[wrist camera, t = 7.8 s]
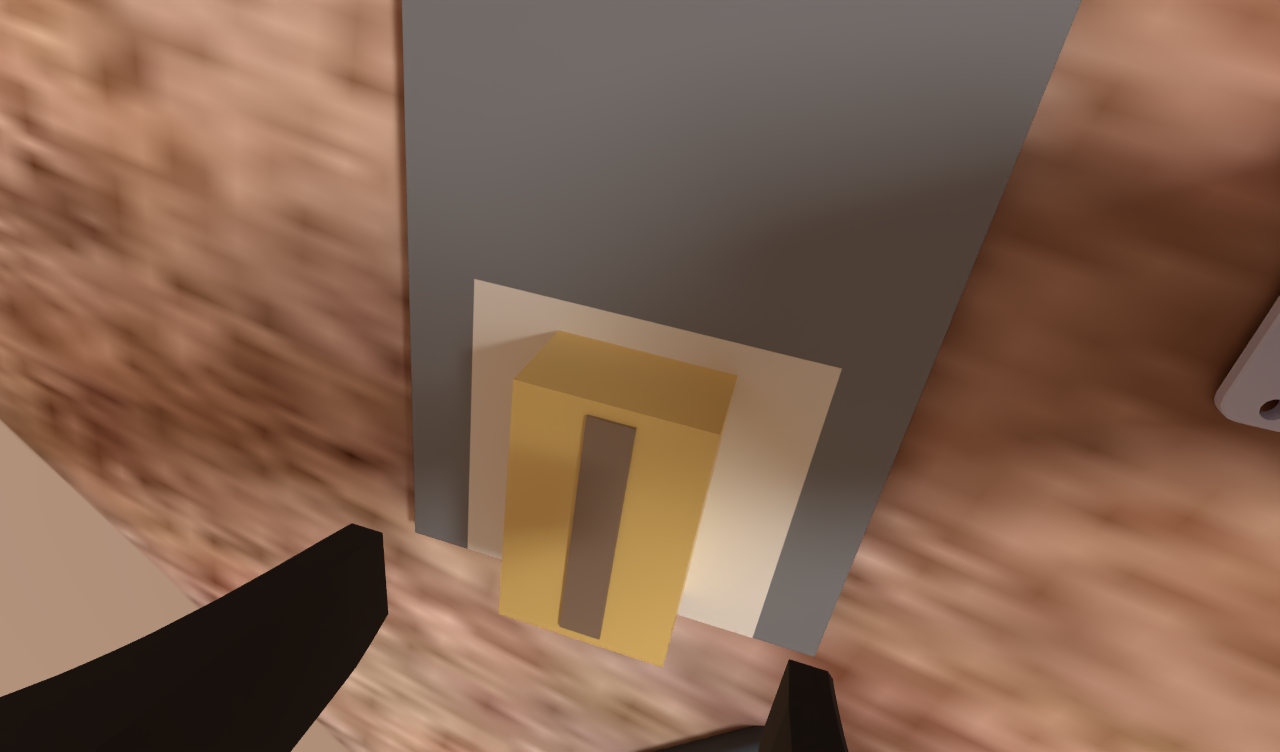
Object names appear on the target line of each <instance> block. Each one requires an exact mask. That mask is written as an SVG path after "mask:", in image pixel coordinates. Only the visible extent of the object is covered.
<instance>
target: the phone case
mask: <svg viewBox="0 0 1280 752" xmlns="http://www.w3.org/2000/svg"><path fill="white" fill-rule="evenodd" d="M764 727H765V726H753V727H748V728H744V729H740V730H736V731H732V732H728V733H725V734H721V735H717V736H713V737H709V738H705V739H701V740H697V741H693V742H689V743H686V744H682V745H678V746H674V747H670V748H666V749H662V750H658V751H654V752H758V751H759V745H760V738H761V735H762V732H763V730H764Z"/></svg>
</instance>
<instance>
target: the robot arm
mask: <svg viewBox="0 0 1280 752" xmlns="http://www.w3.org/2000/svg"><path fill="white" fill-rule="evenodd" d="M1274 399H1279V402H1278V405H1276V406H1275V407H1274V408H1273V409H1271V410H1268V411H1260V408H1261V406H1262V405H1263V404H1265V403H1266V402H1268V401H1271V400H1274ZM1214 401H1215V406H1216V407H1217V408H1218V410H1219V411H1220V412H1221V413H1222V414H1223V415H1224V416H1225V417H1226V418H1227V419H1230V420H1232V421H1234V422H1238V423H1242V424H1246V425H1251V426H1255V427H1259V428H1263V429H1268V430H1272V431H1276V432H1280V296H1279V297H1278V299H1277V300H1276V302H1275V303H1274V305H1273V306H1272V308H1271V309H1270V311H1269V313H1268V314H1267V316H1266V317H1265V319H1264V320H1263V322H1262V323H1261V325H1260V326H1259V328H1258V329H1257V331H1256V332H1255V334H1254V335H1253V337H1252V338H1251V340H1250V341H1249V343H1248V345H1247V346H1246V348H1245V349H1244V351H1243V352H1242V354H1241V355H1240V357H1239V358H1238V360H1237V361H1236V363H1235V364H1234V366H1233V367H1232V369H1231V370H1230V372H1229V373H1228V375H1227V377H1226V378H1225V380H1224V381H1223V383H1222V384H1221V386H1220V387H1219V389H1218V390H1217V392H1216V395H1215V398H1214ZM387 615H388V604H387V590H386V576H385V562H384V548H383V534H382V533H381V532H378V531H375V530H372V529H368V528H365V527H362V526H359V525H355V524H350V525H348V526H346V527H344V528H343V529H341V530H339V531H337V532H336V533H334V534H332V535H330V536H329V537H327V538H325V539H323V540H322V541H320V542H318V543H316V544H315V545H313V546H311V547H309V548H308V549H306V550H304V551H302V552H301V553H299V554H297V555H295V556H294V557H292V558H290V559H289V560H287V561H285V562H283V563H282V564H280V565H278V566H276V567H275V568H273V569H271V570H269V571H268V572H266V573H264V574H262V575H260V576H259V577H257V578H255V579H253V580H251V581H250V582H248V583H246V584H244V585H242V586H241V587H239V588H237V589H235V590H233V591H232V592H230V593H228V594H226V595H224V596H223V597H221V598H219V599H217V600H215V601H213V602H211V603H210V604H208V605H206V606H204V607H202V608H200V609H198V610H196V611H194V612H192V613H190V614H188V615H186V616H184V617H182V618H180V619H178V620H176V621H175V622H173V623H171V624H169V625H167V626H165V627H163V628H161V629H159V630H157V631H155V632H153V633H151V634H149V635H147V636H145V637H143V638H140V639H138V640H136V641H134V642H132V643H130V644H128V645H126V646H124V647H121V648H119V649H117V650H115V651H112V652H110V653H108V654H106V655H103V656H101V657H99V658H96V659H94V660H92V661H90V662H87V663H85V664H83V665H80V666H78V667H76V668H74V669H71V670H69V671H66V672H64V673H62V674H59V675H57V676H54V677H52V678H50V679H47V680H44V681H41V682H39V683H36V684H34V685H31V686H28V687H26V688H23V689H21V690H18V691H15V692H13V693H10V694H8V695H5V696H2V697H0V752H291V751H292V749H293V748H294V747H295V745H296V744H297V743H298V741H299V740H300V739H301V738H302V736H303V735H304V734H305V732H306V731H307V730H308V729H309V727H310V726H311V725H312V724H313V722H314V721H315V720H316V719H317V717H318V716H319V715H320V713H321V712H322V711H323V710H324V708H325V707H326V706H327V704H328V703H329V702H330V701H331V699H332V698H333V697H334V695H335V694H336V693H337V691H338V690H339V689H340V688H341V686H342V685H343V684H344V682H345V681H346V680H347V678H348V677H349V676H350V674H351V673H352V672H353V670H354V669H355V668H356V666H357V665H358V663H359V661H360V660H361V658H362V657H363V655H364V653H365V652H366V650H367V649H368V647H369V645H370V644H371V642H372V641H373V639H374V637H375V635H376V634H377V632H378V630H379V629H380V627H381V625H382V623H383V622H384V620H385V618H386V617H387ZM758 752H848V748H847V745H846V741H845V737H844V732H843V728H842V724H841V720H840V715H839V710H838V706H837V701H836V696H835V690H834V684H833V678H832V677H831V675H830V674H829V673H828V671H825V670H822V669H819V668H815V667H812V666H809V665H806V664H802V663H799V662H796V661H793V660H790V659H789V661H788V664H787V666H786V669H785V672H784V675H783V677H782V680H781V683H780V686H779V688H778V691H777V694H776V697H775V699H774V702H773V705H772V708H771V710H770V713H769V716H768V719H767V721H766V724H765V727H764V730H763V732H762V735H761V738H760V745H759V751H758Z"/></svg>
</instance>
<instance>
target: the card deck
mask: <svg viewBox="0 0 1280 752" xmlns="http://www.w3.org/2000/svg"><path fill="white" fill-rule="evenodd" d="M737 377H738V376H737V375H733V374H729V373H725V372H721V371H718V370H714V369H710V368H706V367H702V366H698V365H694V364H690V363H686V362H682V361H678V360H674V359H670V358H666V357H662V356H659V355H655V354H651V353H647V352H643V351H639V350H635V349H631V348H627V347H623V346H619V345H615V344H611V343H607V342H603V341H600V340H596V339H592V338H588V337H584V336H580V335H576V334H572V333H568V332H564V331H560V330H558V332H557V333H556V334H555V335H554V336H553V337H552V338H551V339H550V340H549V341H548V342H547V343H546V345H545V346H544V347H543V348H542V349H541V350H540V351H539V352H538V353H537V354H536V355H535V356H534V358H533V359H532V360H531V361H530V362H529V363H528V364H527V365H526V366H525V367H524V368H523V369H522V370H521V372H520V373H519V374H518V375H517V376H516V377H515V378H514V379H513V392H512V408H511V424H510V440H509V456H508V472H507V488H506V503H505V519H504V535H503V551H502V567H501V583H500V599H499V614H501V615H504V616H507V617H510V618H513V619H516V620H519V621H523V622H526V623H529V624H532V625H535V626H538V627H541V628H544V629H547V630H550V631H553V632H556V633H559V634H562V635H565V636H568V637H571V638H574V639H577V640H580V641H583V642H587V643H590V644H593V645H596V646H599V647H602V648H605V649H608V650H611V651H614V652H617V653H620V654H623V655H626V656H629V657H632V658H635V659H638V660H641V661H644V662H648V663H651V664H654V665H657V666H660V667H663V664H664V661H665V657H666V653H667V650H668V646H669V643H670V639H671V635H672V632H673V628H674V625H675V621H676V617H677V614H678V610H679V607H680V603H681V599H682V596H683V592H684V588H685V584H686V580H687V576H688V572H689V568H690V564H691V560H692V556H693V552H694V548H695V544H696V540H697V536H698V532H699V528H700V524H701V520H702V516H703V512H704V508H705V504H706V500H707V496H708V492H709V488H710V484H711V480H712V477H713V473H714V469H715V465H716V461H717V457H718V453H719V449H720V445H721V441H722V437H723V433H724V429H725V425H726V421H727V417H728V413H729V409H730V405H731V401H732V397H733V393H734V389H735V385H736V381H737Z"/></svg>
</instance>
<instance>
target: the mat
mask: <svg viewBox="0 0 1280 752" xmlns="http://www.w3.org/2000/svg"><path fill="white" fill-rule="evenodd" d="M1080 3H1081V0H402V27H403V67H404V106H405V146H406V185H407V224H408V264H409V303H410V342H411V382H412V421H413V460H414V500H415V532H416V533H419V534H422V535H426V536H429V537H432V538H435V539H438V540H442V541H445V542H448V543H451V544H454V545H458V546H461V547H464V548H467V549H469V550H472V551H475V552H479V553H482V554H485V555H488V556H491V557H495V558H498V559H501V560H502V551H503V535H504V519H505V503H506V488H507V472H508V456H509V440H510V424H511V408H512V392H513V379H514V378H515V377H516V376H517V375H518V374H519V373H520V372H521V370H522V369H523V368H524V367H525V366H526V365H527V364H528V363H529V362H530V361H531V360H532V359H533V358H534V356H535V355H536V354H537V353H538V352H539V351H540V350H541V349H542V348H543V347H544V346H545V345H546V343H547V342H548V341H549V340H550V339H551V338H552V337H553V336H554V335H555V334H556V333H557V332H558V330H560V331H564V332H568V333H572V334H576V335H580V336H584V337H588V338H592V339H596V340H600V341H603V342H607V343H611V344H615V345H619V346H623V347H627V348H631V349H635V350H639V351H643V352H647V353H651V354H655V355H659V356H662V357H666V358H670V359H674V360H678V361H682V362H686V363H690V364H694V365H698V366H702V367H706V368H710V369H714V370H718V371H721V372H725V373H729V374H733V375H737V376H738V377H737V381H736V385H735V389H734V393H733V397H732V401H731V405H730V409H729V413H728V417H727V421H726V425H725V429H724V433H723V437H722V441H721V445H720V449H719V453H718V457H717V461H716V465H715V469H714V473H713V477H712V480H711V484H710V488H709V492H708V496H707V500H706V504H705V508H704V512H703V516H702V520H701V524H700V528H699V532H698V536H697V540H696V544H695V548H694V552H693V556H692V560H691V564H690V568H689V572H688V576H687V580H686V584H685V588H684V592H683V596H682V599H681V603H680V607H679V610H678V614H677V615H680V616H683V617H687V618H690V619H693V620H696V621H699V622H703V623H706V624H709V625H712V626H715V627H719V628H722V629H725V630H728V631H731V632H735V633H738V634H741V635H744V636H747V637H751V638H755V639H759V640H762V641H765V642H768V643H771V644H775V645H778V646H781V647H784V648H787V649H791V650H794V651H797V652H800V653H803V654H807V655H810V656H813V657H814V656H815V654H816V652H817V649H818V647H819V644H820V642H821V639H822V637H823V634H824V632H825V629H826V627H827V625H828V622H829V620H830V617H831V615H832V612H833V610H834V607H835V605H836V602H837V600H838V597H839V595H840V593H841V590H842V588H843V585H844V583H845V580H846V578H847V575H848V573H849V570H850V568H851V566H852V563H853V561H854V558H855V556H856V553H857V551H858V548H859V546H860V543H861V541H862V539H863V536H864V534H865V531H866V529H867V526H868V524H869V521H870V519H871V516H872V514H873V511H874V509H875V507H876V504H877V502H878V499H879V497H880V494H881V492H882V489H883V487H884V484H885V482H886V480H887V477H888V475H889V472H890V470H891V467H892V465H893V462H894V460H895V457H896V455H897V452H898V450H899V448H900V445H901V443H902V440H903V438H904V435H905V433H906V430H907V428H908V425H909V423H910V421H911V418H912V416H913V413H914V411H915V408H916V406H917V403H918V401H919V398H920V396H921V394H922V391H923V389H924V386H925V384H926V381H927V379H928V376H929V374H930V371H931V369H932V366H933V364H934V362H935V359H936V357H937V354H938V352H939V349H940V347H941V344H942V342H943V339H944V337H945V335H946V332H947V330H948V327H949V325H950V322H951V320H952V317H953V315H954V312H955V310H956V308H957V305H958V303H959V300H960V298H961V295H962V293H963V290H964V288H965V285H966V283H967V280H968V278H969V276H970V273H971V271H972V268H973V266H974V263H975V261H976V258H977V256H978V253H979V251H980V249H981V246H982V244H983V241H984V239H985V236H986V234H987V231H988V229H989V226H990V224H991V222H992V219H993V217H994V214H995V212H996V209H997V207H998V204H999V202H1000V199H1001V197H1002V194H1003V192H1004V190H1005V187H1006V185H1007V182H1008V180H1009V177H1010V175H1011V172H1012V170H1013V167H1014V165H1015V163H1016V160H1017V158H1018V155H1019V153H1020V150H1021V148H1022V145H1023V143H1024V140H1025V138H1026V135H1027V133H1028V131H1029V128H1030V126H1031V123H1032V121H1033V118H1034V116H1035V113H1036V111H1037V108H1038V106H1039V104H1040V101H1041V99H1042V96H1043V94H1044V91H1045V89H1046V86H1047V84H1048V81H1049V79H1050V77H1051V74H1052V72H1053V69H1054V67H1055V64H1056V62H1057V59H1058V57H1059V54H1060V52H1061V49H1062V47H1063V45H1064V42H1065V40H1066V37H1067V35H1068V32H1069V30H1070V27H1071V25H1072V22H1073V20H1074V18H1075V15H1076V13H1077V10H1078V8H1079V5H1080Z"/></svg>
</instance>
